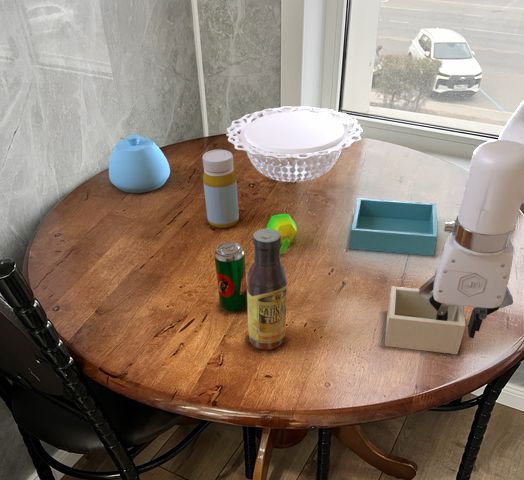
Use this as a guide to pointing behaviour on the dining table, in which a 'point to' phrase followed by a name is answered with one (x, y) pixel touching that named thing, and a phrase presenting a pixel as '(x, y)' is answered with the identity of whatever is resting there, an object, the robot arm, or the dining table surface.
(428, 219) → the bin
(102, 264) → the dining table surface
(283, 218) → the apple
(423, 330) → the lone bin
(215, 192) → the bottle
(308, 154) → the white lattice bowl
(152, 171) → the sugar bowl
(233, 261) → the soda can
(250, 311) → the sauce bottle
